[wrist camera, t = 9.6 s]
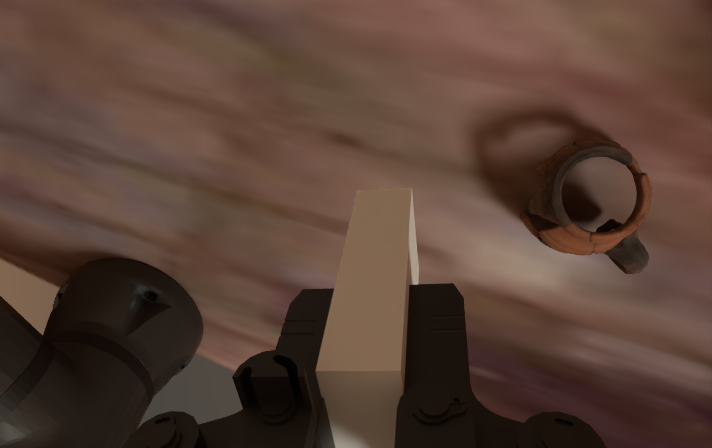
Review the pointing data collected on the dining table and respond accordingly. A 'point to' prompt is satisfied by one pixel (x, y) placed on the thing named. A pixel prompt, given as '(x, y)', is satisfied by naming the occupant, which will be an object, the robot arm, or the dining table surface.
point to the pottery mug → (608, 237)
